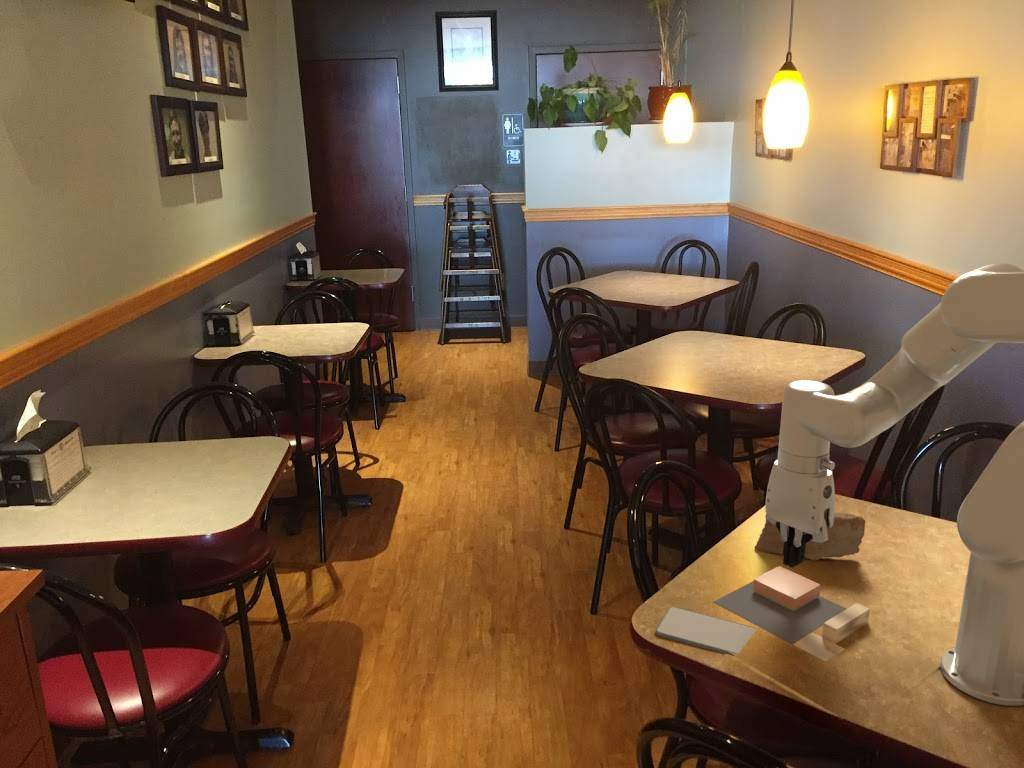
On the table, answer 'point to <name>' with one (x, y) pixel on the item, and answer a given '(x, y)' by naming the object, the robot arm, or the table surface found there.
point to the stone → (840, 542)
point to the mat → (779, 613)
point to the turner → (835, 632)
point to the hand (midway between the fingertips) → (792, 563)
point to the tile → (786, 588)
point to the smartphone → (704, 631)
